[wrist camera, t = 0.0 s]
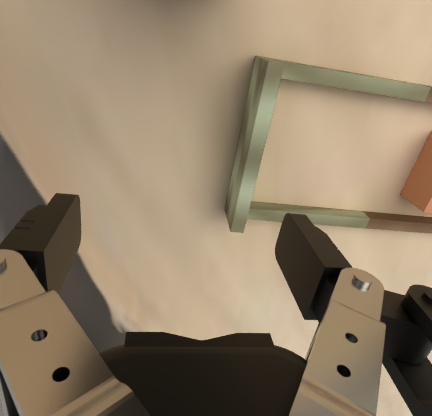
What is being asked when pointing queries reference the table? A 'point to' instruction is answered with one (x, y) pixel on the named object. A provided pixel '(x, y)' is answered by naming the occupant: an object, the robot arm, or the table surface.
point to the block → (421, 180)
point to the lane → (257, 133)
